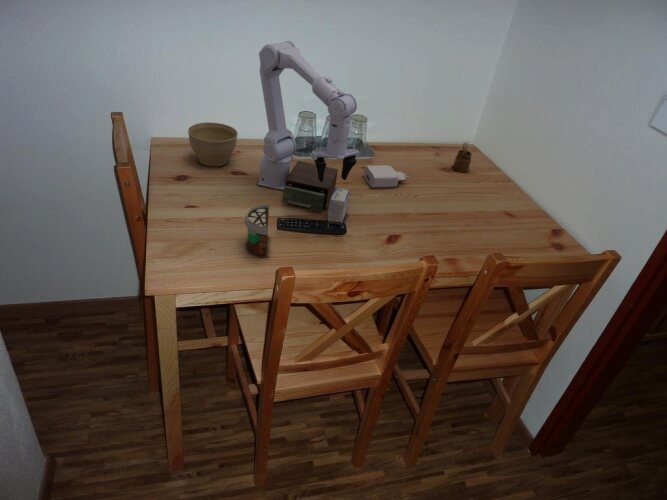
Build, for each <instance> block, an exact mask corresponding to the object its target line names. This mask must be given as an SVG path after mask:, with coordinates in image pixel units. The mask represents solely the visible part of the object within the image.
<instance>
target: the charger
mask: <svg viewBox="0 0 667 500" xmlns="http://www.w3.org/2000/svg"><path fill="white" fill-rule="evenodd" d="M363 178H364V180H365V181H366V182H367V185H368V186H369V187H370V188H371V189H372V188H373V189H375V188H376V189H377V188H396V187H397V186H398V183H399V182H400V181H406V178H410V176H409V175H408V174H407V173H403V171H396V170H395V169H394V168H393V167H392V166H391V165H389V164H388V165H365V166H364V171H363Z"/></svg>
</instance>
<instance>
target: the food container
mask: <svg viewBox="0 0 667 500" xmlns="http://www.w3.org/2000/svg"><path fill="white" fill-rule="evenodd" d="M269 213H270V204H259V205H255V206H253V207H251V208H250V209H249V210H248V211H247V213H246V214H245V217H244V225H245V227H246V228H247V229H246V230H247V231H246V232H247V247H248V250H249V251H250V253H252V254H253V255H255V256H258V257H263V258H267V250H268V237H269V236H268V235H269V234H268V233H269V216H270V215H269Z"/></svg>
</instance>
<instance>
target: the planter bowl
mask: <svg viewBox="0 0 667 500" xmlns="http://www.w3.org/2000/svg"><path fill="white" fill-rule="evenodd" d="M187 134H188V139H189V144H190V147H191V149H192V151H193V153H194V155H195V157H197V159H198V162H199V163H200V164H201V165H204V166H208V167H222V166H224V165H225V164H227V163H228V160H229V158H230V157H231V156H232V154H233V152H234V151H235V149H236V145H237V139H238V131H237V129H235V128H234V127H233V126H231V125H228V124H225V123H221V122H220V123H219V122H198V123H195V124H192V125H191V126H189V127H188V129H187Z"/></svg>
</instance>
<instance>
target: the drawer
mask: <svg viewBox="0 0 667 500" xmlns="http://www.w3.org/2000/svg"><path fill="white" fill-rule="evenodd" d="M325 193H326V190H321V189H316V188H312V187H307V186H303V185H298V184H293V183H290V184H289V186H285V187H284V190H283V196H282V197H283V198H282V199H283V201H282V204H283V205H287V206H289V207H294V208H299V209H303V210H307V211H315V212H319V213H323V211H324V210H323V204H324V200H325Z"/></svg>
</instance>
